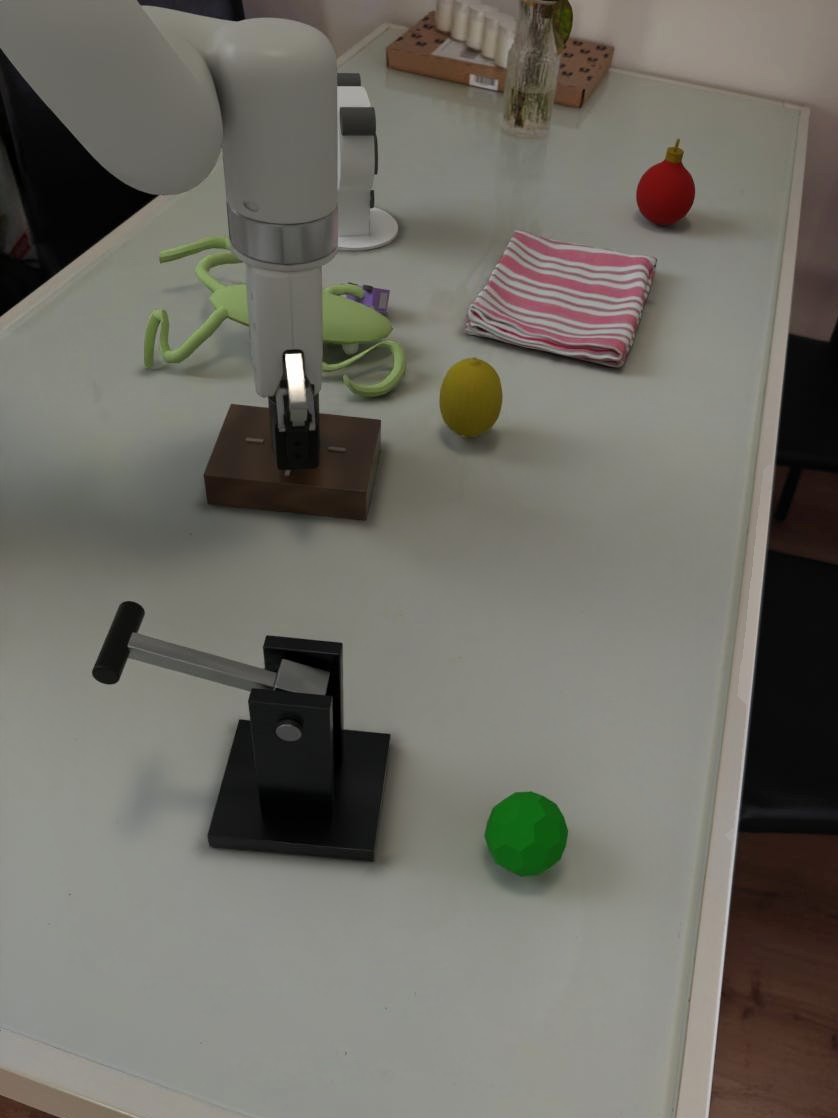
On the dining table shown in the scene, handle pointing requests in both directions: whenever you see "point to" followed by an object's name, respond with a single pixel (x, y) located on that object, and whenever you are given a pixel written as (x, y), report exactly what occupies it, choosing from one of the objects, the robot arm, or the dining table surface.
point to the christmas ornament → (666, 189)
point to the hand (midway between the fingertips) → (292, 430)
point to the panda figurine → (358, 170)
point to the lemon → (470, 397)
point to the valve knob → (286, 407)
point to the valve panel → (329, 490)
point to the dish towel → (564, 299)
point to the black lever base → (301, 768)
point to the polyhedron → (526, 833)
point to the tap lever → (194, 660)
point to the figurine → (341, 320)
